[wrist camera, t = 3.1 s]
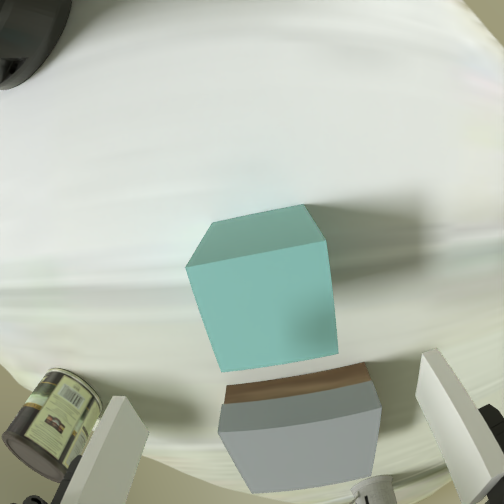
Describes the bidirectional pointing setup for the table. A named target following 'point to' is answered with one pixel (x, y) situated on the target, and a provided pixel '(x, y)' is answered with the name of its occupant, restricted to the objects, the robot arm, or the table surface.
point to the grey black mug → (374, 491)
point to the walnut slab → (297, 384)
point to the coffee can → (54, 424)
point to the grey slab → (303, 438)
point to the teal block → (265, 289)
